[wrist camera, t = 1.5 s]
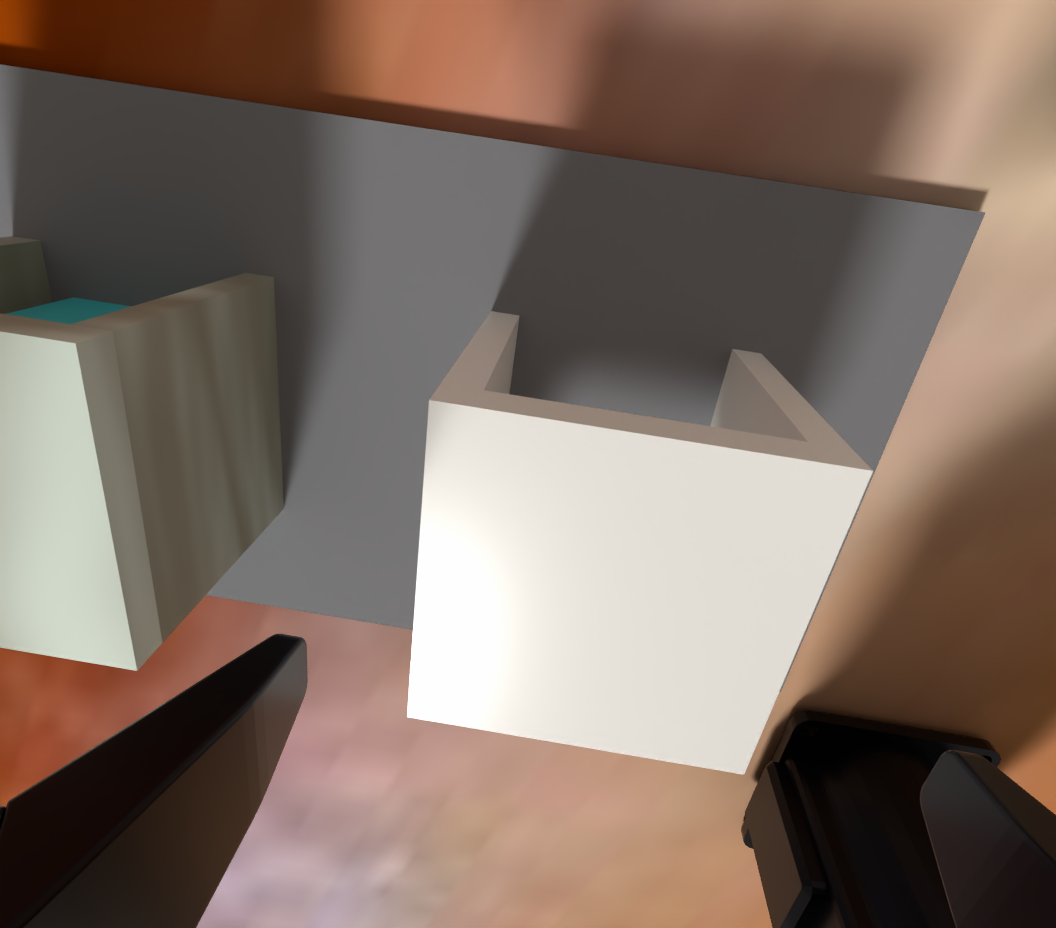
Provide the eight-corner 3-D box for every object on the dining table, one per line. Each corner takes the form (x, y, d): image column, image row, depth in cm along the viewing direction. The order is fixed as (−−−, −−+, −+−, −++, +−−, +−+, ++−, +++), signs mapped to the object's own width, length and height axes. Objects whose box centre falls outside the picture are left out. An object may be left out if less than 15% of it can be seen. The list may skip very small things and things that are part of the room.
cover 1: (274, 277, 15) (75, 343, 9) (283, 508, 18) (137, 670, 12) (12, 236, 15) (-345, 276, 9) (64, 472, 18) (-186, 615, 12)
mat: (974, 211, 14) (985, 212, 13) (776, 682, 20) (780, 691, 19) (-167, 39, 14) (-187, 36, 14) (-16, 549, 20) (-27, 555, 20)
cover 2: (761, 353, 15) (873, 470, 9) (692, 575, 18) (743, 774, 12) (490, 311, 15) (428, 399, 9) (466, 538, 18) (407, 717, 12)
